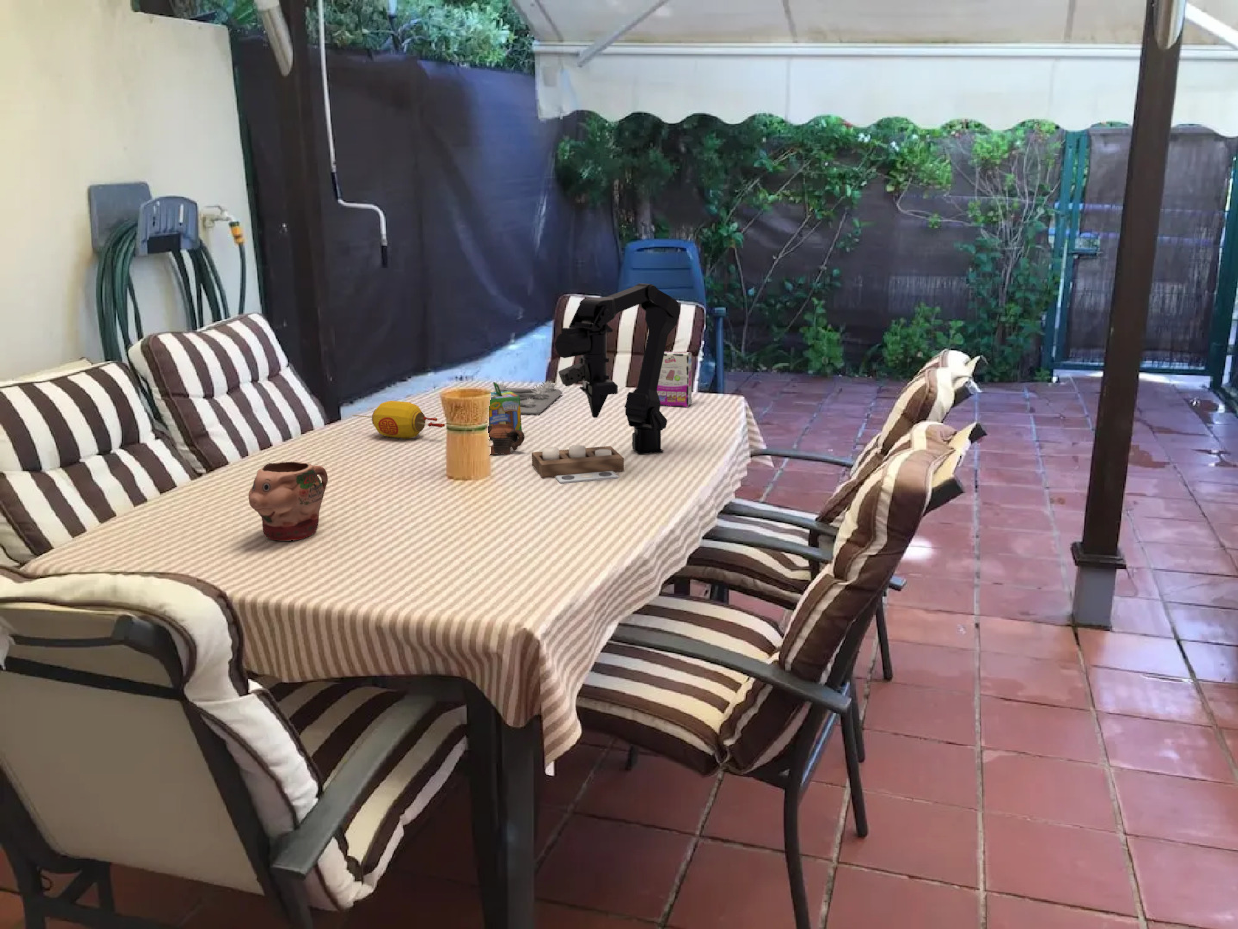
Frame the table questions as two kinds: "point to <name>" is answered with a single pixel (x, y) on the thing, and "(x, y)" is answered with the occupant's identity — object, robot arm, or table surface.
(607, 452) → the button
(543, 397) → the decorative plate
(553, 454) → the button
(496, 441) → the pottery mug
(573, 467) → the button board
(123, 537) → the table surface
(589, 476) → the card
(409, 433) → the lantern
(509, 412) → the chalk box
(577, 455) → the button middle
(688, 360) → the candy bar box
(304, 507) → the pink animal face cup
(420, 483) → the table surface
